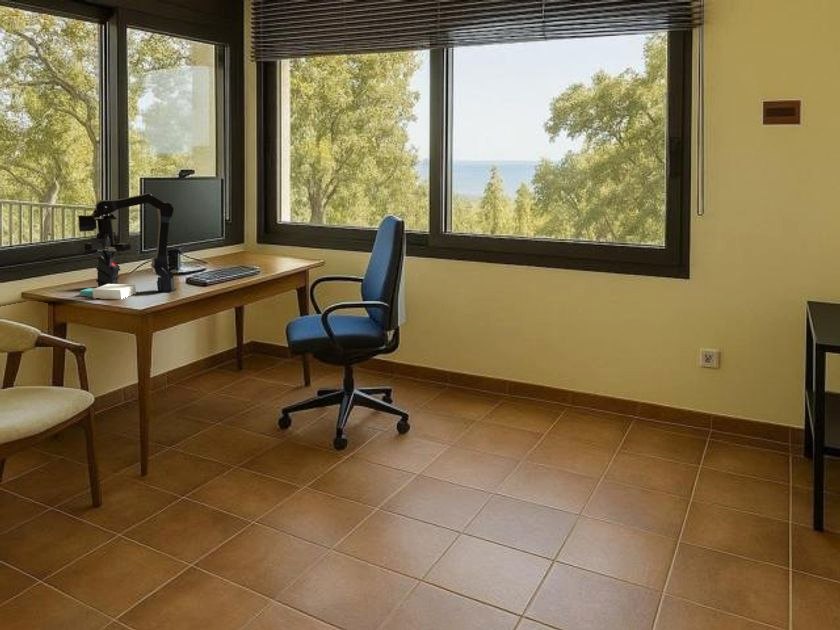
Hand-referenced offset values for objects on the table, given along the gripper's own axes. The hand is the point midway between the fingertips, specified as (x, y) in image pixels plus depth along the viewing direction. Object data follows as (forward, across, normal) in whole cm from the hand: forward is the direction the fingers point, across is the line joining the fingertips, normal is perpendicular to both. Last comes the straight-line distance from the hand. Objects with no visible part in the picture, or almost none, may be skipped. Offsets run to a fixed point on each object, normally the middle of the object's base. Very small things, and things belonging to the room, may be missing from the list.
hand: (109, 266), depth 320 cm
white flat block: (+13, +1, 0) cm, 13 cm away
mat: (+13, -11, +2) cm, 17 cm away
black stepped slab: (+13, -11, +16) cm, 23 cm away
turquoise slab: (+13, -10, +1) cm, 16 cm away
